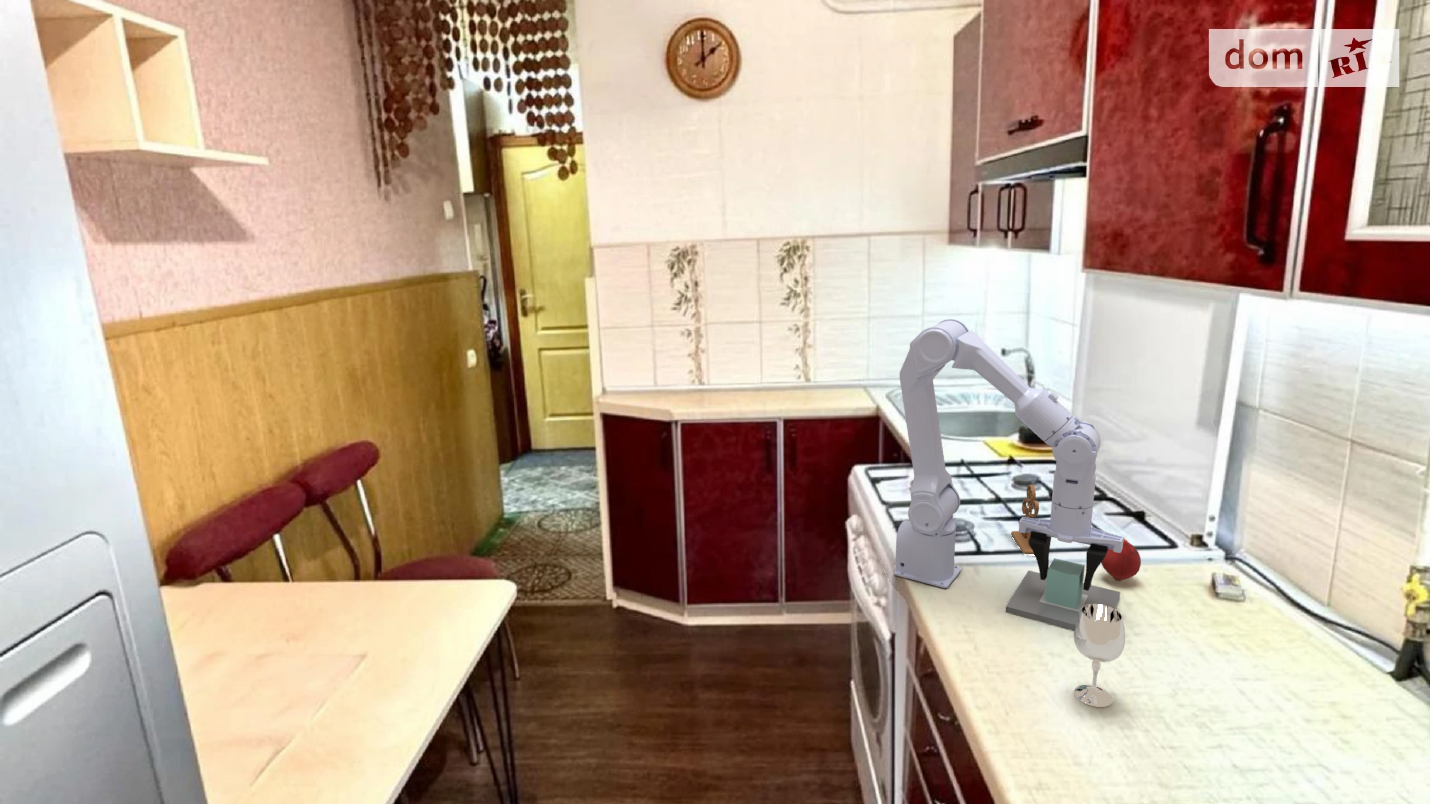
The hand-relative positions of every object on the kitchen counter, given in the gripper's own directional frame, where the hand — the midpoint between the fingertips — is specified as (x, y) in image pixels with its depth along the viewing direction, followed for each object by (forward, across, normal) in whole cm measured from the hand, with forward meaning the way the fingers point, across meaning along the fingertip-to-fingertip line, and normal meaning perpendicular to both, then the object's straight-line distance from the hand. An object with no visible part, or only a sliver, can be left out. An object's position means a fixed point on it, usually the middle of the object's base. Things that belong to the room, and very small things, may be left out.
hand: (1065, 582), depth 117 cm
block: (+3, 0, 0) cm, 3 cm away
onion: (+4, +6, +13) cm, 15 cm away
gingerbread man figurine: (+4, -10, +19) cm, 22 cm away
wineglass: (+4, +8, -22) cm, 24 cm away
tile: (+4, 0, 0) cm, 4 cm away
